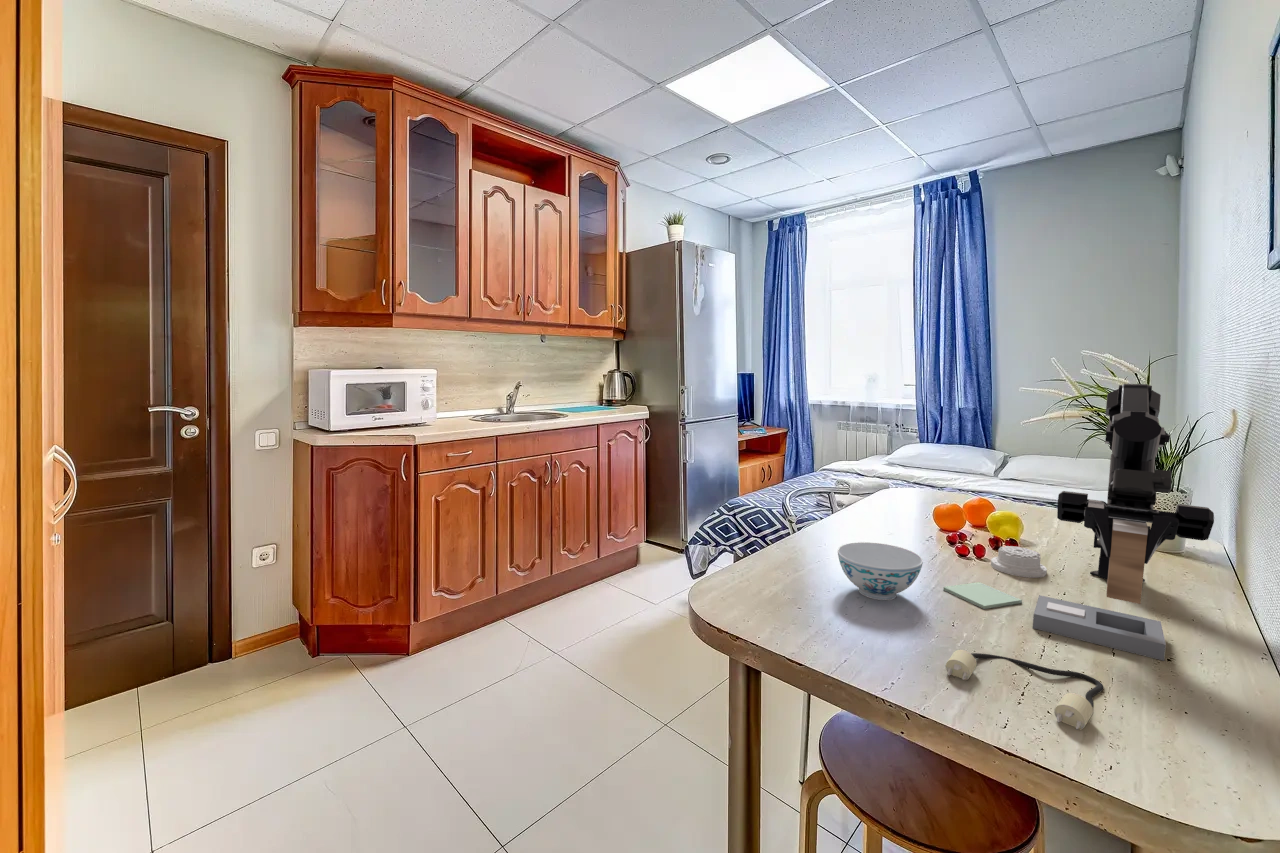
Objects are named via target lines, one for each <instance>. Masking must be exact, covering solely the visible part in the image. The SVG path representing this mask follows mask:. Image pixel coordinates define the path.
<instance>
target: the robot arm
mask: <svg viewBox="0 0 1280 853" xmlns="http://www.w3.org/2000/svg"><path fill="white" fill-rule="evenodd" d="M1152 389H1153V386H1152V385H1149V384H1148V383H1123V384H1119V385H1118V389H1115V390H1113V391H1110V392H1108V393H1107V394H1106V395H1107V396H1106V404H1105V406H1106V407H1105V416H1107V417H1109V418H1108V419H1109V420H1108V424H1106V430H1105V442H1104V444H1108V445H1109V450H1111V454H1110V461H1109V463H1110V464H1109V472H1108V474H1109V475H1108V476H1109V477H1108V486H1107V487H1108V488H1107V502H1106V501H1103V500H1097V499H1089V498H1088V497H1089V496H1088V495H1089V493H1084V492H1078V491H1077V492H1076V491H1075V492H1074V491H1067V490H1063V491H1061V492H1060V493H1058V497H1057V511H1056V513H1057V515H1056V517H1057V519H1058V520H1060V521H1063V522H1069V523H1075V524H1081V523H1082V522H1083V526H1084V528H1087V529H1091V530H1092V532H1093V533H1094V536H1093V548H1095V549H1100V550H1099V552H1100V553H1099V558H1098V567H1097V568H1098V569H1097V570H1091V571H1090V572H1089V574H1090V575H1092V576H1096V577H1098V578H1101V579H1104V580H1108V569H1109V558H1110V555H1111V537H1112V526H1113V519H1119V520H1127V521H1134V522H1142V523H1147V524H1148V523H1151V525H1147V527H1148V534H1147V544H1146V554H1145V564H1146V565H1148V563H1149V562H1150V560H1151V559H1152V557H1153V555H1154V554H1155V552H1156V551H1157V549H1158V548H1159V547H1160V546H1161V545H1162V544H1163V543H1164V542H1165V541H1166V540H1169V541H1174V540H1175V539H1176V537H1178V538H1181V539H1189V540H1195V541H1206V540H1209V537H1210V535H1211V532H1212V529H1213V527H1214V523H1215V513H1214V512H1213V510H1211V509H1210V508H1209V507H1206V506H1197V505H1191V504H1189V505H1187V504H1180V503H1178V504H1176V509H1175V511H1174V512H1171V511H1163V510H1158V509H1154V506H1156V502H1157V493H1170V492H1171V488H1172V482H1173V481H1172V470H1169V469H1168V470H1166V469H1155V466H1156V464H1155V462H1156V461H1155V460H1156V457H1157V455H1158V450H1159V448H1163V447H1164V446H1165V443H1170V438H1171V435H1170V434H1169V433H1167V431H1166V430H1165V427H1163V426H1161V425H1160V420H1159V415H1160V412H1161V411H1160V410H1161V398H1162V397H1161V396H1162V395H1161V394H1160V393H1159V392H1156V391H1154V390H1152ZM1145 564H1144V565H1145ZM1145 582H1146V579H1144V578H1143V583H1145Z"/></svg>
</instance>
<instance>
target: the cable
mask: <svg viewBox="0 0 1280 853" xmlns="http://www.w3.org/2000/svg"><path fill="white" fill-rule="evenodd" d="M977 659H980V660H981V659H983V660H987V659H988V660H992V659H996V660H997V659H999V660H1006V661H1008V662H1011V663H1014V664H1016V665H1018V666H1020V667H1024V668H1027V669H1031V670H1033V671H1037V672H1040V673H1045V674H1048V675H1052V676H1059V677H1072V678H1077V679H1082V680H1085V681H1087V682H1090V683H1092V684H1093V685H1094V686H1095V687H1092V688H1091V689H1089V690H1088V691H1087V692H1086V694H1085V697H1084V696H1082V695H1080V694H1078V693H1074V692H1068V693H1065V694H1064V695H1063V696H1062V697H1061V699H1060V700H1059V702H1057V705H1055V708H1054V712H1053V713H1054V717H1055V718H1056V721H1057V723H1060V722H1062V723H1064V724H1066V725H1069V726H1071V727H1073V728H1075V730H1080V731H1082V730H1083V729H1084V728H1085V727H1086V726H1087V723H1088V722H1089V720H1090V719H1091V717H1092V715H1093V713H1094V709H1093V708H1094V704H1095V703H1094V699H1093V697H1094V696H1096V695H1098V694H1099V693H1102V692H1103V690H1104V688H1105V687H1104V685H1103V683H1102V682H1100V680H1098V679H1096V678H1094V677H1092V676H1090V675H1088V674H1084V673H1081V672H1077V671H1072V670H1061V669H1053V668H1048V667H1044V666H1041V665H1038V664H1034V663H1031V662H1027V661H1023V660H1019V659H1015V658H1011V657H1007V656H1002V655H1001V656H1000V655H995V654H989V653H988V654H987V653H979V652H975V653H973V652H972V653H971V652H969V651H967V650H965V649H957V650H955V651H953V653H952V654H951V656H950V657H949V659H948V660H947V662H946V663H945V669H946V670H945V671H946V672H947V675H948V676H950V675H951V676H954V677H957V678H960V679H962V680H964V681H967V680H969V678H971V676H972V673H973V672H974V671H975V669H976V667H977Z"/></svg>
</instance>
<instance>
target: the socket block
mask: <svg viewBox="0 0 1280 853" xmlns="http://www.w3.org/2000/svg"><path fill="white" fill-rule="evenodd" d="M1032 629H1034V630H1040V631H1043V632H1047V633H1050V634H1051V633H1052V634H1055V635H1059V636H1063V637H1068V638H1072V639H1075V640H1079V641H1082V642H1083V641H1084V642H1088V643H1090V644H1094V645H1099V646H1102V647H1108V648H1111V649H1116V650H1120V651H1124V652H1127V653H1132V654H1135V653H1136V654H1135V655H1140V656H1144V657H1147V658H1151V659H1154V660H1155V659H1156V660H1159V661H1163V662H1165V658H1166V657H1165V656H1166V647H1167V644H1166V639H1165V635H1164V630H1163V625H1162V621H1161V620H1156V619H1152V618H1148V617H1143V616H1137V615H1134V614H1129V613H1124V612H1120V611H1119V612H1118V611H1114V610H1109V609H1106V608H1101V607H1096V606H1091V605H1087V604H1082V603H1079V602H1073V601H1069V600H1063V599H1059V598H1055V597H1050V596H1045V595H1041V594H1039V595H1038V597H1037V601H1036V604H1035V607H1034V612H1033V616H1032Z"/></svg>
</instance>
